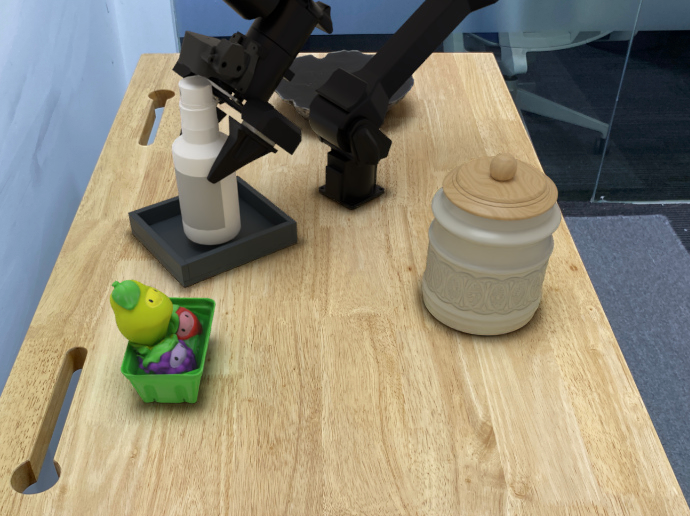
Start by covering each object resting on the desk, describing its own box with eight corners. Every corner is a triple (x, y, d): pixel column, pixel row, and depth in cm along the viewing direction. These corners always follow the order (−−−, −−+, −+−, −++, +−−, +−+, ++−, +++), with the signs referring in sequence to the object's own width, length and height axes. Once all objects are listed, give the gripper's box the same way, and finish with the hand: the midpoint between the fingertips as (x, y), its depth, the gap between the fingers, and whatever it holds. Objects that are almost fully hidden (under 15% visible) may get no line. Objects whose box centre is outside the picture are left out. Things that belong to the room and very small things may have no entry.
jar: (418, 264, 91) (434, 122, 79) (529, 268, 90) (562, 125, 78) (422, 336, 82) (441, 187, 69) (546, 341, 81) (587, 191, 69)
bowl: (417, 142, 112) (420, 109, 109) (267, 141, 112) (265, 107, 109) (406, 80, 128) (409, 49, 125) (275, 79, 128) (274, 47, 125)
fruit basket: (207, 413, 73) (194, 322, 66) (115, 412, 74) (91, 320, 66) (221, 335, 82) (210, 246, 74) (137, 334, 82) (118, 244, 74)
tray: (239, 195, 102) (238, 175, 100) (297, 243, 94) (297, 221, 92) (131, 233, 95) (127, 212, 93) (184, 287, 88) (181, 266, 85)
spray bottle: (179, 219, 94) (156, 73, 81) (234, 210, 95) (220, 65, 83) (189, 250, 89) (167, 100, 77) (247, 240, 91) (234, 91, 78)
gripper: (176, -26, 82) (101, 102, 85) (272, 27, 71) (181, 171, 74) (245, 34, 90) (174, 148, 94) (339, 89, 80) (256, 216, 83)
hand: (194, 168), depth 86 cm, fingers closed on spray bottle, 7 cm apart
